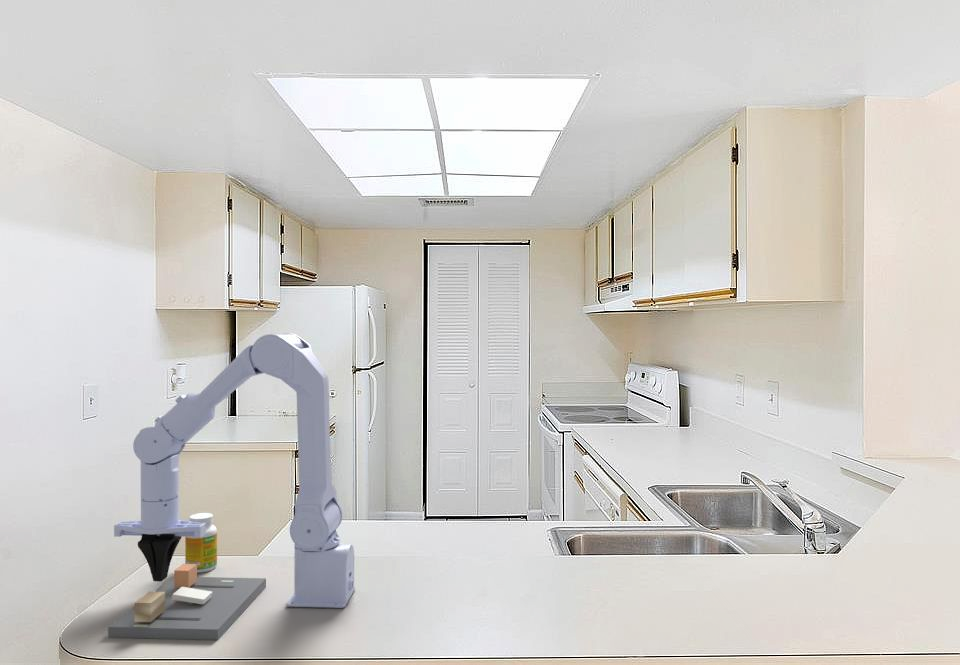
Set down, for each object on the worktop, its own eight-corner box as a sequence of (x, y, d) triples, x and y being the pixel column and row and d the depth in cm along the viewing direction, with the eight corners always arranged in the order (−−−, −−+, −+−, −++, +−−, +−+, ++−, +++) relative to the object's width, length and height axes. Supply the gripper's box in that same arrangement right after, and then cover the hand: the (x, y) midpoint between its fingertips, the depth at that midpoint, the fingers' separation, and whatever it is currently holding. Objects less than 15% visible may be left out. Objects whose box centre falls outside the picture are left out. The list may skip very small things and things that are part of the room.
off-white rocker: (211, 596, 106) (212, 591, 106) (203, 604, 103) (204, 599, 103) (181, 591, 106) (182, 586, 106) (171, 599, 103) (172, 594, 103)
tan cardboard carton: (164, 610, 100) (164, 591, 100) (150, 622, 96) (150, 602, 96) (149, 609, 100) (149, 591, 100) (134, 621, 96) (134, 602, 96)
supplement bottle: (205, 574, 119) (205, 520, 119) (178, 572, 120) (178, 518, 120) (222, 564, 125) (223, 512, 124) (197, 562, 126) (197, 510, 125)
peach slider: (197, 580, 112) (197, 564, 112) (188, 587, 109) (188, 570, 109) (183, 580, 112) (183, 563, 112) (174, 587, 109) (174, 570, 109)
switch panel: (265, 587, 114) (265, 576, 114) (217, 639, 95) (217, 626, 95) (174, 585, 114) (174, 574, 114) (108, 637, 96) (108, 624, 95)
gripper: (213, 492, 114) (213, 570, 114) (130, 490, 115) (131, 569, 115) (194, 503, 107) (194, 587, 107) (106, 501, 108) (106, 585, 108)
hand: (160, 579), depth 110 cm, fingers closed
